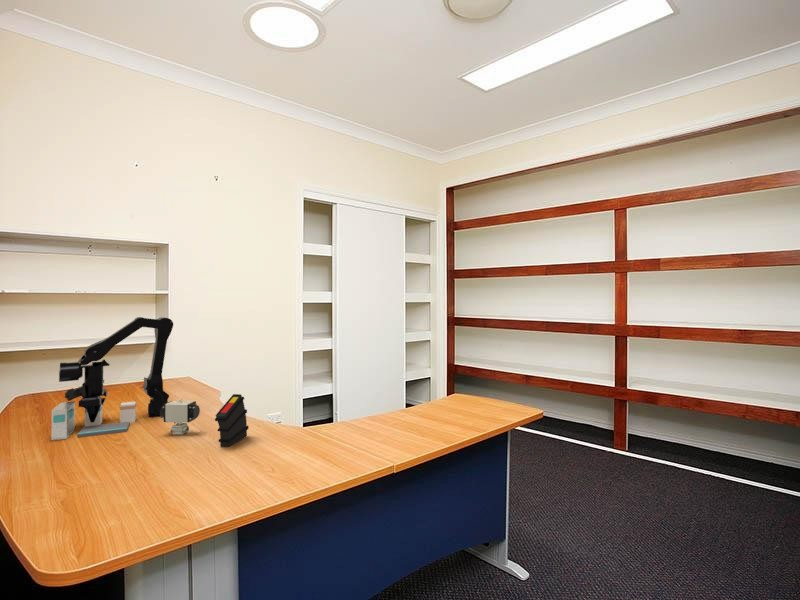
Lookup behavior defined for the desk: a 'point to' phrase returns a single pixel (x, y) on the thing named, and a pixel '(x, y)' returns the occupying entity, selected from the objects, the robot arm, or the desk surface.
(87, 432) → the plate
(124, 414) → the light grey boxy piece
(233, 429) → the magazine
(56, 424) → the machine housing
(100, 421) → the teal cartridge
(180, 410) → the pneumatic valve
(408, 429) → the desk surface
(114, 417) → the desk surface
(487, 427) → the desk surface
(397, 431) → the desk surface
